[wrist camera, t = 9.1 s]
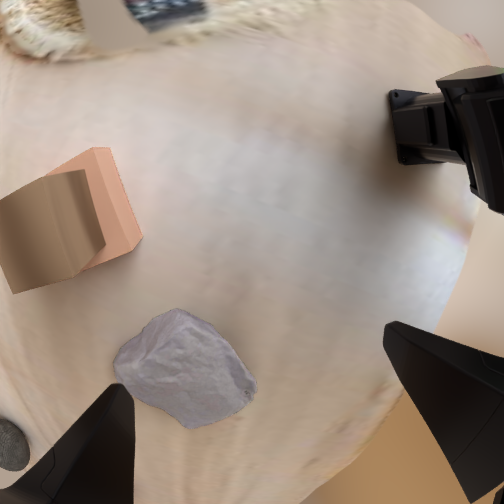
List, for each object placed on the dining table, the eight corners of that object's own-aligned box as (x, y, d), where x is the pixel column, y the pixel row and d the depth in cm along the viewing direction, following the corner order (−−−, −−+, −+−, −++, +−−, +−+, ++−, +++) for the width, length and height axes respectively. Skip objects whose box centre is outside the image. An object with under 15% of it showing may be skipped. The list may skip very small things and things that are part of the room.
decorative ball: (15, 413, 24) (-4, 457, 15) (45, 447, 28) (33, 487, 18) (-16, 402, 23) (-35, 439, 14) (12, 436, 27) (-1, 471, 17)
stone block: (181, 285, 23) (108, 352, 22) (187, 310, 18) (102, 385, 18) (260, 359, 28) (193, 411, 27) (279, 387, 23) (202, 442, 22)
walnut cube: (84, 168, 14) (41, 177, 9) (106, 244, 16) (73, 277, 11) (29, 194, 14) (-17, 210, 9) (50, 261, 15) (13, 294, 11)
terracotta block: (111, 147, 17) (92, 147, 14) (144, 234, 19) (132, 250, 16) (42, 187, 17) (18, 194, 13) (74, 264, 19) (55, 282, 16)
